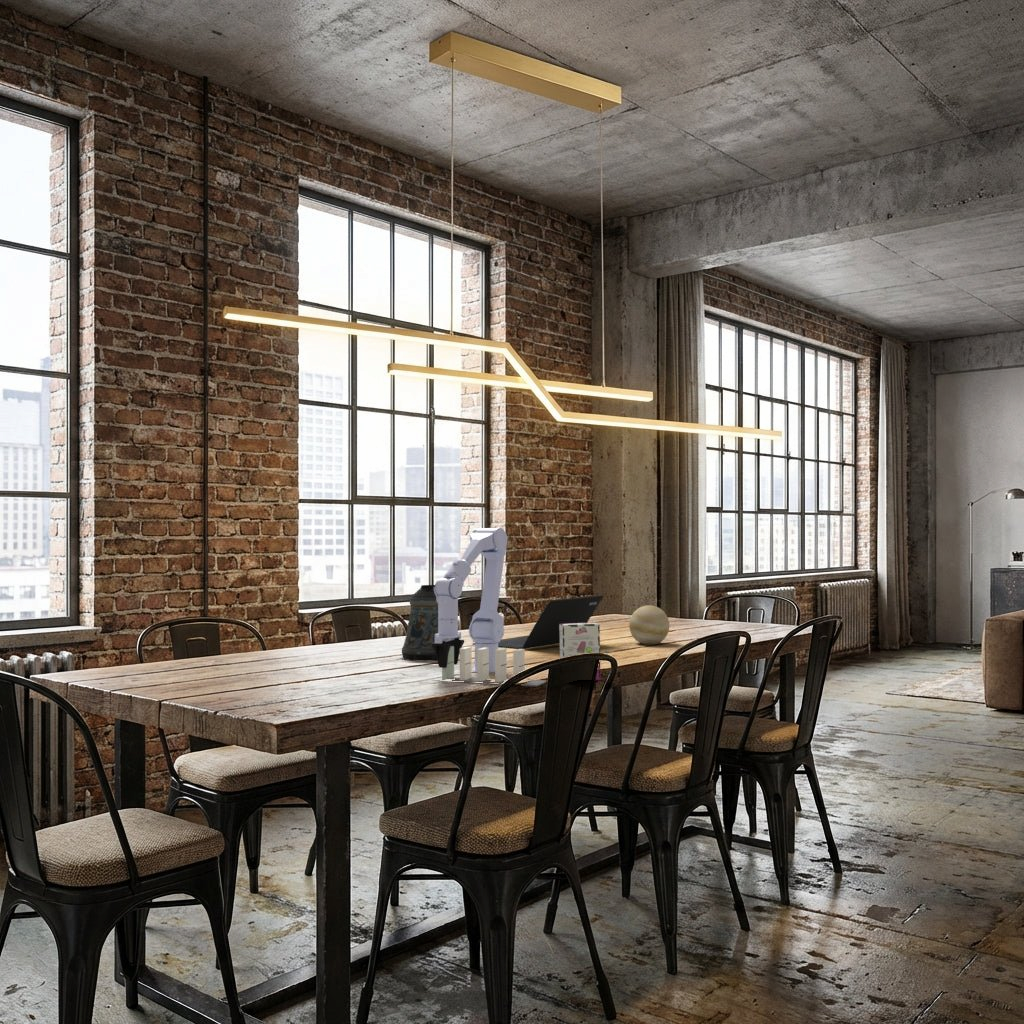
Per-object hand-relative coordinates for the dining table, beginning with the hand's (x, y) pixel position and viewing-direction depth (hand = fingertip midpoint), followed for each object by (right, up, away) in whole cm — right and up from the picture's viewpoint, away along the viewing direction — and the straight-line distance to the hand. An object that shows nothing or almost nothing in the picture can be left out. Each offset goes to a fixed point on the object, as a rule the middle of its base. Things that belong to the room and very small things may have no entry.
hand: (448, 665), depth 301 cm
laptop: (+28, -6, +86) cm, 90 cm away
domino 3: (+15, -3, -6) cm, 17 cm away
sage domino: (0, -4, 0) cm, 3 cm away
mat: (+10, -4, -4) cm, 12 cm away
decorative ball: (+70, -6, +88) cm, 113 cm away
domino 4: (+21, -3, -8) cm, 22 cm away
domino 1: (+5, -4, -2) cm, 7 cm away
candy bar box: (+38, -4, -2) cm, 39 cm away
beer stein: (-10, -5, +47) cm, 49 cm away
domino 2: (+10, -3, -4) cm, 12 cm away
